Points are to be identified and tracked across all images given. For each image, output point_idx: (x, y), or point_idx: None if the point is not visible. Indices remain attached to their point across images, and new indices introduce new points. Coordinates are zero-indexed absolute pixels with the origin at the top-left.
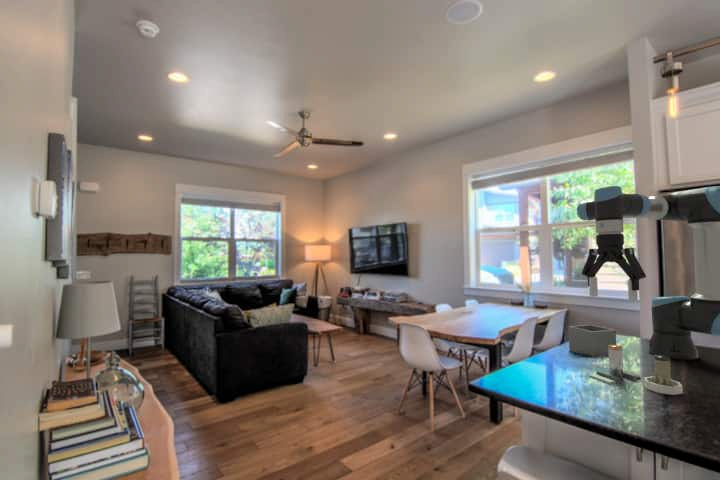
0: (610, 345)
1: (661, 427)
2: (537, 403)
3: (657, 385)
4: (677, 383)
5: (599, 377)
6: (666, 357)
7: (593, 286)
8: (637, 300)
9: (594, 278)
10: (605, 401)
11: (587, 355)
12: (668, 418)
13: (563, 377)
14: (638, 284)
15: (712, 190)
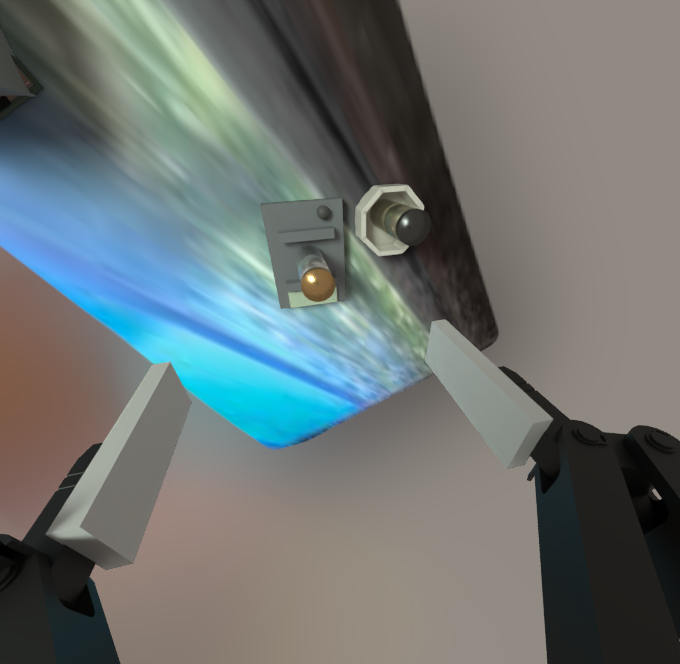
0: (308, 292)
1: None
2: (351, 412)
3: (400, 253)
4: (409, 195)
5: (309, 300)
6: (424, 223)
7: (157, 452)
8: (446, 322)
9: (114, 528)
10: (372, 338)
11: (12, 108)
12: (441, 303)
13: (260, 333)
14: (540, 400)
15: None
